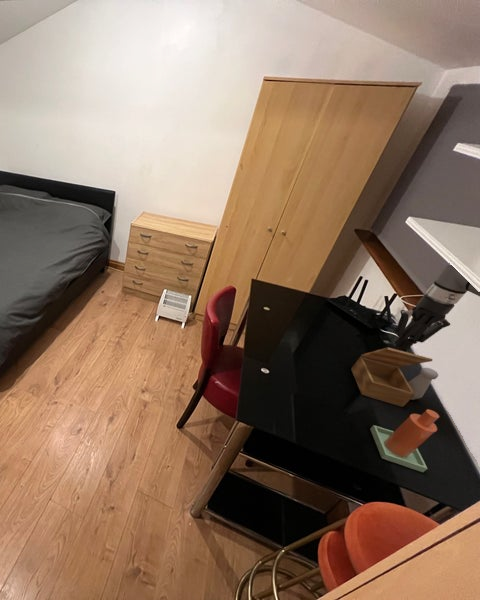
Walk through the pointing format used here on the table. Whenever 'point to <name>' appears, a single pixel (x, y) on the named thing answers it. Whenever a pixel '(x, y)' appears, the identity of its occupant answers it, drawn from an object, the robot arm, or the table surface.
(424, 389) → the salt shaker
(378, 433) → the tray
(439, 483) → the table surface
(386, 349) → the lid
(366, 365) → the chest
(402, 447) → the bottle
